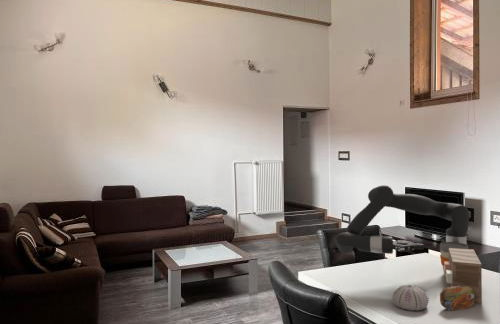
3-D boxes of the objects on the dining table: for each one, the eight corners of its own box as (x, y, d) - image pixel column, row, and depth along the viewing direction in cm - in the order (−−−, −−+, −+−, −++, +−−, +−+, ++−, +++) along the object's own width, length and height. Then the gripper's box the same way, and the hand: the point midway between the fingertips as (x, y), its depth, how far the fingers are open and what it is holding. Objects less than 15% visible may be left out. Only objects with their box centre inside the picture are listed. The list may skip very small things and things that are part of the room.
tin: (444, 312, 147) (444, 290, 147) (438, 308, 150) (438, 287, 150) (476, 307, 151) (476, 285, 151) (470, 304, 154) (469, 283, 154)
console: (448, 282, 179) (448, 247, 179) (473, 284, 175) (473, 249, 175) (453, 301, 157) (452, 261, 157) (481, 304, 153) (481, 263, 153)
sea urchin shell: (418, 316, 144) (417, 294, 144) (385, 305, 154) (384, 285, 154) (434, 306, 152) (434, 286, 152) (402, 297, 163) (402, 278, 163)
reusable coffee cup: (461, 271, 195) (461, 241, 194) (473, 279, 182) (473, 247, 182) (435, 271, 196) (435, 241, 196) (445, 279, 183) (445, 247, 183)
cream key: (446, 279, 166) (446, 269, 166) (465, 281, 163) (464, 271, 163) (447, 283, 161) (447, 273, 161) (466, 284, 158) (466, 275, 158)
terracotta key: (444, 269, 178) (444, 261, 178) (461, 271, 176) (461, 262, 176) (445, 273, 174) (445, 264, 174) (462, 274, 171) (462, 265, 171)
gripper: (379, 239, 168) (423, 241, 162) (382, 233, 181) (423, 234, 174) (380, 256, 169) (424, 259, 162) (382, 249, 181) (423, 251, 174)
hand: (423, 246), depth 168 cm, fingers closed
